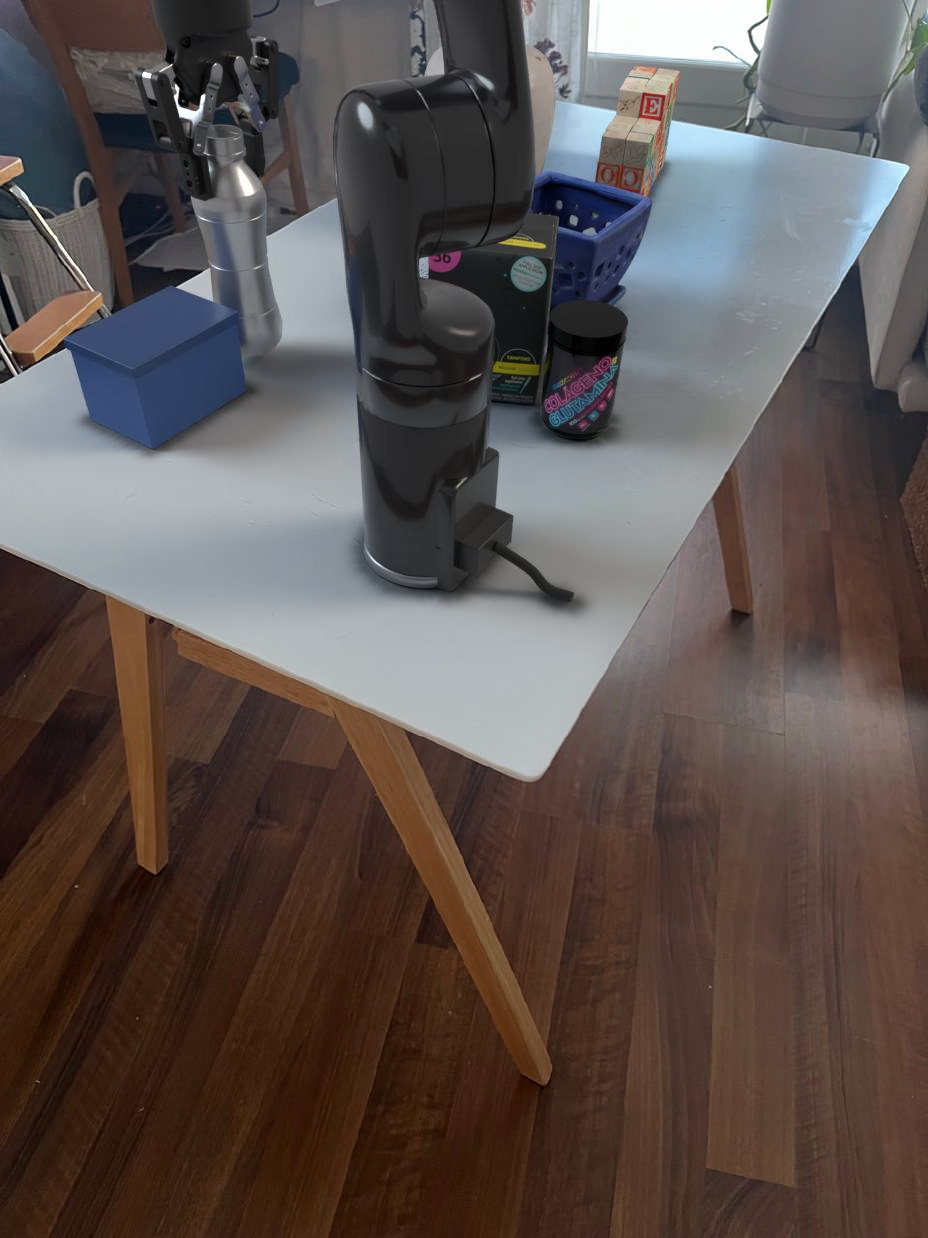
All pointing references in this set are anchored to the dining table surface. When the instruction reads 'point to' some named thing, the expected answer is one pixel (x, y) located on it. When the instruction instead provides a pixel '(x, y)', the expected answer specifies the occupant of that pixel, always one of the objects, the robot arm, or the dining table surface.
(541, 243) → the tampon box
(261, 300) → the silver water bottle
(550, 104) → the vase
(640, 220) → the flower pot
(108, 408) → the blue box
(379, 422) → the robot arm
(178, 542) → the dining table surface
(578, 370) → the supplement container
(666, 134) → the stack of blocks
